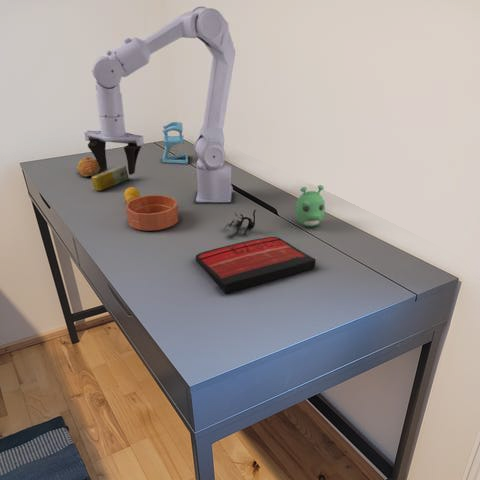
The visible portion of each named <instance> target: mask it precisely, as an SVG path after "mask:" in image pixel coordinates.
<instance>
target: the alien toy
mask: <svg viewBox="0 0 480 480" xmlns="http://www.w3.org/2000/svg"><path fill="white" fill-rule="evenodd" d="M317 188H318V191H313V190H308V191H307V189H308V188H307V187H306V186H302V187H301V188H300V190H299V191H300V192H302V194H301V195H300V196H299V197H298V198H297V201H296V205H295V216H296V219H297V221H298V222H299V223H300V224H301V225H302V226H304V227H307V228H313V227H316V226H317V225H319V224H320V223H321V222H322V220H323V219H324V216H325V212H326V202H325V200H324V198H323V196H322V195H321V194H320V193H321V191H324V189H325V186H324V185H322V184H319V185H317Z"/></svg>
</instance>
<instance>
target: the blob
mask: <svg viewBox="0 0 480 480" xmlns="http://www.w3.org/2000/svg"><path fill="white" fill-rule="evenodd" d="M123 195H124V199H125V201H126V204H127V203H128V202H129V201H131V200H132V199H135V198H137V197H141V192H140V190H139V189H138V188H136V187H133V186H130V187H128V188H126V189H125V191H124V194H123Z"/></svg>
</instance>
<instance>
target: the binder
mask: <svg viewBox="0 0 480 480" xmlns="http://www.w3.org/2000/svg"><path fill="white" fill-rule="evenodd" d="M195 261H196V263H197V265H199V266H200V267H201V268H202V269H203V270H204V272H205V273H206V274H207V275H208V276H209V277H210V278H211V280H212V281H213V282H214V283H215V284H216V285H217V286H218V288H219V289H220V290H221V291H222V293H224V294H229V293H232V292H236V291H239V290H243V289H247V288H250V287H251V288H252V287H254V286H257V285H261V284H265V283H268V282H271V281H274V280H278V279H281V278H285V277H289V276H292V275H296V274H299V273H302V272H306V271H309V270H312V269H315V267H316V261H317V260H316V259H315V258H314V257H312V256H310V255H309V254H306V253H305V252H304V251H301V250H300V249H298V248H297V247H295V246H294V245H292V244H290V243H289V242H286V240H284V239H282V238H280V237H278V236H267V237H261V238H255V239H250V240H246V241H241V242H237V243H233V244H229V245H225V246H220V247H217V248H213V249H210V250H205V251H202V252H200V253H197V254H196V255H195Z"/></svg>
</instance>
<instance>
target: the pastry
mask: <svg viewBox="0 0 480 480" xmlns="http://www.w3.org/2000/svg"><path fill="white" fill-rule="evenodd" d="M94 158H95V157H94ZM94 158H93V157H91V156H90V157H88V156H87V157H84V158H82V159H81V158H80V160H79V162H78V165H77V166H76V167H77V171H78V173H79V174H80V176H82V177H85V178H86V177H92V176H95V175H97V174H100V167H99V165H98V162H97V160H96V159H94Z"/></svg>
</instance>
